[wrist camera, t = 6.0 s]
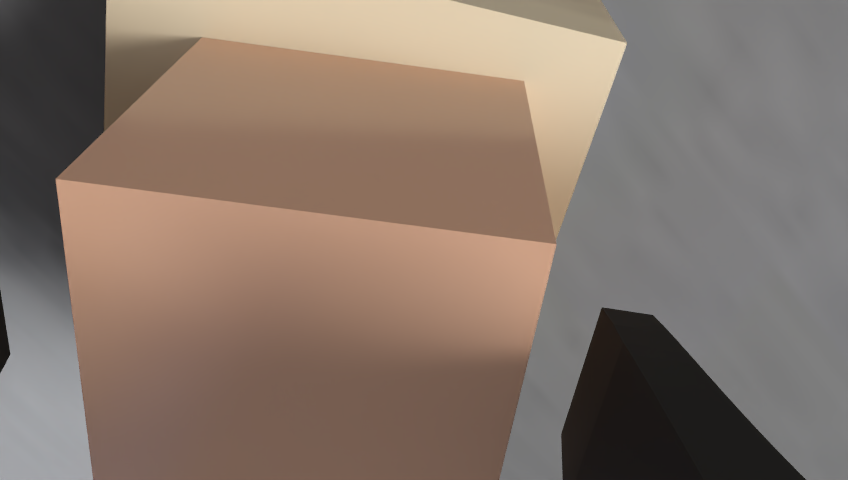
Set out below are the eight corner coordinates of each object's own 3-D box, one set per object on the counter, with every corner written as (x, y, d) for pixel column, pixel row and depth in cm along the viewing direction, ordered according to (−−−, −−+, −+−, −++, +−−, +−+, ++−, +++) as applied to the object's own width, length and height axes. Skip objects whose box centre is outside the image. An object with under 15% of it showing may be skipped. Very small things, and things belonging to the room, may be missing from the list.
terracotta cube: (474, 336, 13) (477, 566, 9) (207, 302, 13) (97, 520, 9) (524, 80, 11) (556, 244, 7) (202, 37, 11) (54, 177, 7)
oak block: (487, 319, 17) (491, 418, 14) (158, 250, 16) (100, 338, 14) (595, -8, 13) (627, 43, 11) (181, -110, 13) (108, -82, 10)
